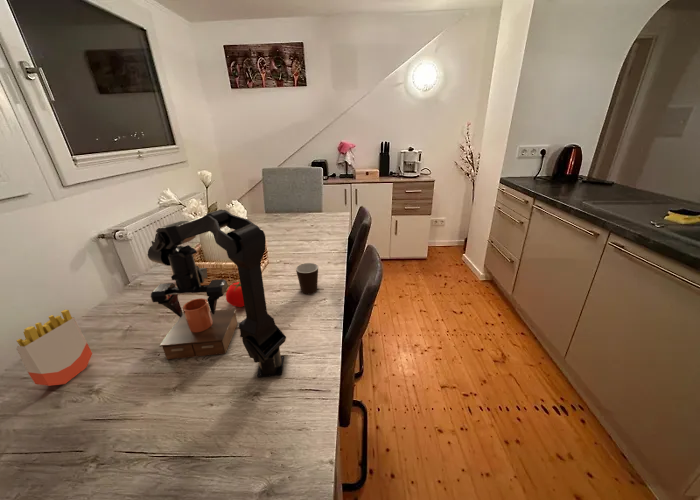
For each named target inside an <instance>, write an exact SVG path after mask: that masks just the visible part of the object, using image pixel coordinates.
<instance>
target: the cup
mask: <svg viewBox="0 0 700 500" xmlns="http://www.w3.org/2000/svg"><path fill="white" fill-rule="evenodd" d="M210 311H211V310H210V307H209V303H208V300H207V299H206V298H202V297H201V298H194V299H191V300H189V301H187V302H185V303H184V304H183V306H182V312H183V313H184V314H185V318H186V321H187V324H188V327H189V330H190V331H191V332H201V331H204V330H206V329H208V328H209V327H211V325H212V324H213V321H212V317H211V313H210Z"/></svg>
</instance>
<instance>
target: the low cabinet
mask: <svg viewBox="0 0 700 500" xmlns="http://www.w3.org/2000/svg"><path fill="white" fill-rule="evenodd" d="M236 312H237V308H232V309H228V308H227V309H218V310H217V309H216V310H215V314H212V312H211V310H210V313H211V317H212V321H213V324H212V325H211V327H209V328H208V329H206V330H204V331H201V332H191V331H190V330H189V327H188V324H187V321H186V318H185V314H184V312H182V313H183V316H182V317H179V316H178V319H177V320H176V322H175V323H173V326H172V327H171V328H170V330H169V331H168V332H167V334H166V336H165V337H164V338H163V340H162V341H161V342H160V343H159V348H160V347H161V348H162V349H163V353H164V355H165V358H166V360H176V359H186V358H187V359H188V358H194V357H205V356H206V357H207V356H217V355H225V354H226V353H227V351H228V348H229V345H230V343H231V342H232V341H231V340H232V339H233V336H234V333H235V331H236V328H237V325H238V319H237V314H236Z"/></svg>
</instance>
